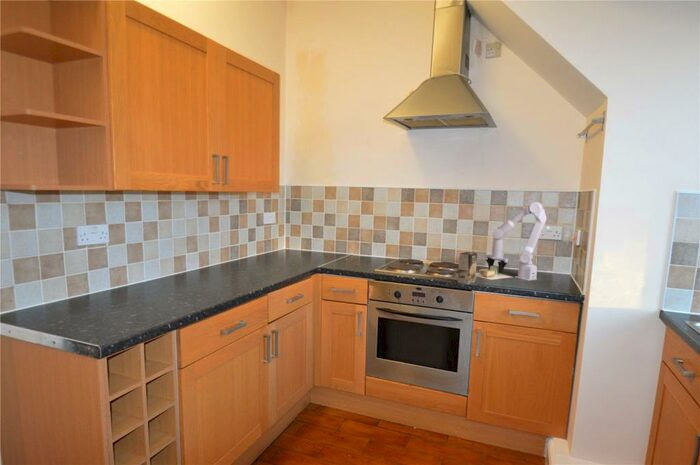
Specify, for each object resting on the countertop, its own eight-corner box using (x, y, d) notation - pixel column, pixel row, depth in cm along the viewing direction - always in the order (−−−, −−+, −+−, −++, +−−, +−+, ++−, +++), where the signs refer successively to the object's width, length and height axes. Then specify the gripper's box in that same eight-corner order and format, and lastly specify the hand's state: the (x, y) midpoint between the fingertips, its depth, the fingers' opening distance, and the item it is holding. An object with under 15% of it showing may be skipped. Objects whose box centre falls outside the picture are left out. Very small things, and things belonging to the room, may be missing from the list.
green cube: (501, 274, 241) (501, 266, 240) (495, 274, 239) (496, 267, 238) (495, 272, 245) (495, 265, 244) (489, 273, 243) (490, 265, 242)
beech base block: (494, 277, 233) (494, 271, 232) (486, 277, 230) (487, 271, 229) (486, 274, 238) (486, 269, 237) (478, 275, 235) (479, 269, 234)
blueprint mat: (512, 277, 235) (512, 276, 235) (490, 280, 226) (490, 279, 225) (490, 272, 248) (490, 271, 248) (469, 274, 239) (469, 273, 239)
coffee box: (468, 284, 214) (470, 254, 212) (457, 282, 218) (459, 253, 216) (475, 282, 221) (477, 252, 219) (464, 280, 225) (466, 251, 223)
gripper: (483, 248, 244) (481, 270, 246) (502, 251, 232) (500, 275, 233) (491, 247, 248) (489, 269, 249) (511, 251, 235) (509, 274, 237)
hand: (495, 272), depth 242 cm, fingers open, 6 cm apart
